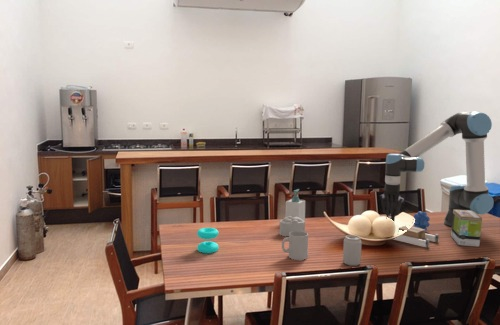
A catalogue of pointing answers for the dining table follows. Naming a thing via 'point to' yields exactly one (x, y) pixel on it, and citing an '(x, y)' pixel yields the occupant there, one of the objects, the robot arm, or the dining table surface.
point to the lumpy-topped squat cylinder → (291, 225)
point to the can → (352, 250)
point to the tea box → (466, 227)
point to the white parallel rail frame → (419, 240)
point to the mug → (297, 245)
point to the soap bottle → (295, 207)
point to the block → (414, 232)
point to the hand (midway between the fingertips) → (390, 227)
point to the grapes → (421, 220)
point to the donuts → (208, 245)
